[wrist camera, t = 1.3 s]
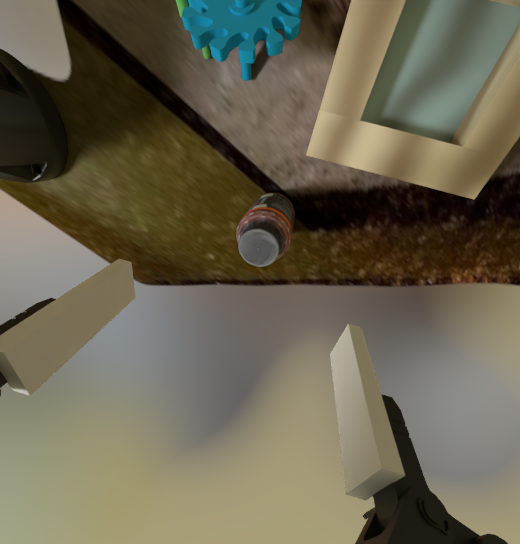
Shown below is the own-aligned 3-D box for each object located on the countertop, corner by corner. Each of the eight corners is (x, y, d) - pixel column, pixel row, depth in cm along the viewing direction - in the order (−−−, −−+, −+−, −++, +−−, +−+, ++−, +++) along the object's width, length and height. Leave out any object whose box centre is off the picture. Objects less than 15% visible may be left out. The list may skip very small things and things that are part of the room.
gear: (322, -26, 18) (274, 57, 16) (308, 58, 24) (271, 128, 22) (203, -57, 20) (143, 16, 18) (216, 30, 25) (172, 93, 23)
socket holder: (306, 153, 26) (306, 155, 24) (383, -109, 17) (396, -153, 14) (457, 193, 26) (474, 199, 23) (625, -56, 16) (684, -91, 14)
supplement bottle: (256, 186, 29) (232, 209, 20) (300, 197, 29) (298, 226, 20) (248, 228, 33) (224, 266, 23) (288, 239, 32) (281, 282, 23)
